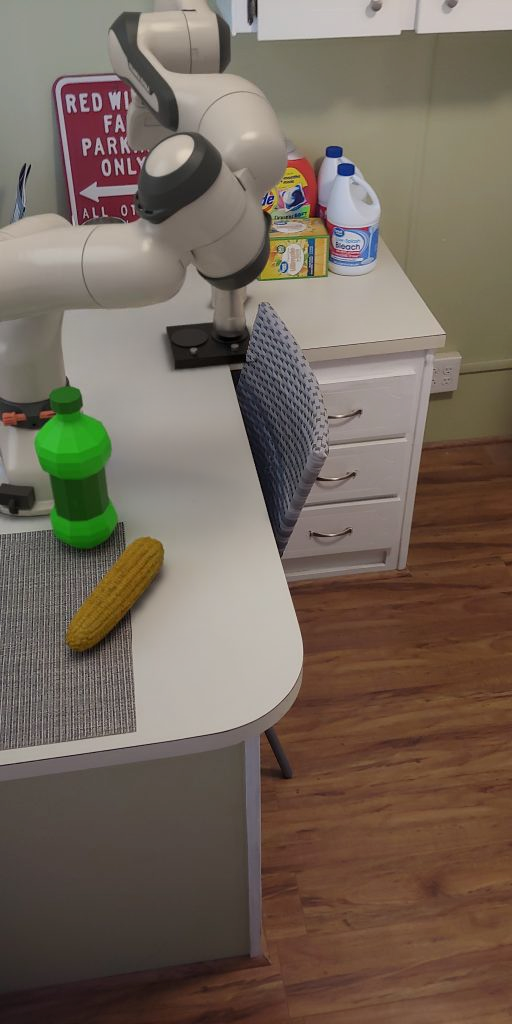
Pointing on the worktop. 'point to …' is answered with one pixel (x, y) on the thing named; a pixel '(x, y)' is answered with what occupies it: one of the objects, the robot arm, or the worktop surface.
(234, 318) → the plastic bottle
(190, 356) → the hot plate
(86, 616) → the food
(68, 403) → the plastic bottle
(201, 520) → the worktop surface
